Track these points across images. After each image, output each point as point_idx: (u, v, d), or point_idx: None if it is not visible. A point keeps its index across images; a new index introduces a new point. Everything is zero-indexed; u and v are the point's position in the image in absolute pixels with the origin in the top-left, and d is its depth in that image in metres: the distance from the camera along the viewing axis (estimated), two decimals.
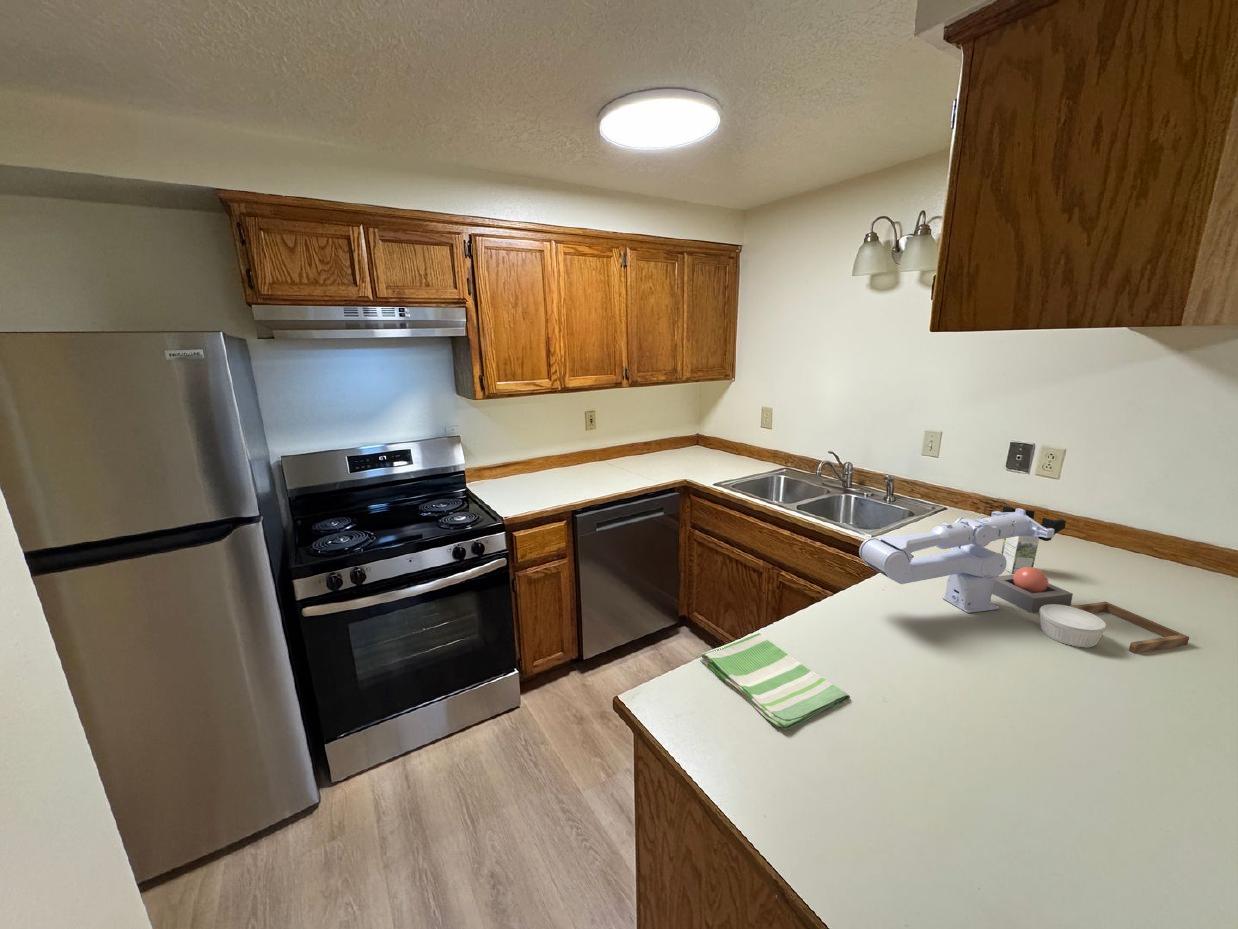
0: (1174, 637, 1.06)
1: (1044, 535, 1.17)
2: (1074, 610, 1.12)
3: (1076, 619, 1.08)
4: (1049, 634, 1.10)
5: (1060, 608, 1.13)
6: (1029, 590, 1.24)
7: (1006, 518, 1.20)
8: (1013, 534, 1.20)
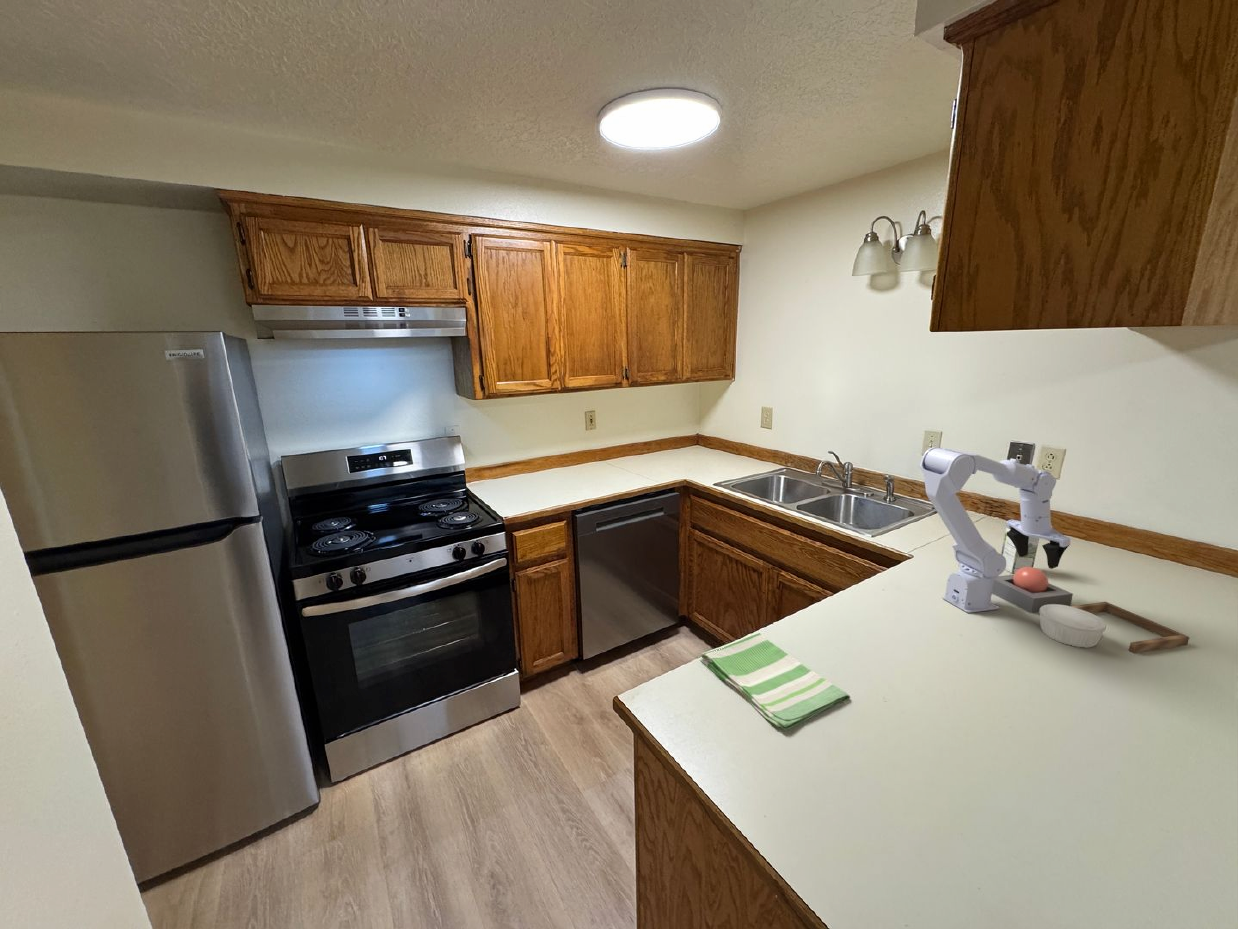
0: (1174, 637, 1.06)
1: None
2: (1074, 610, 1.12)
3: (1076, 619, 1.08)
4: (1049, 634, 1.10)
5: (1060, 608, 1.13)
6: (1029, 590, 1.24)
7: None
8: (1042, 519, 1.20)
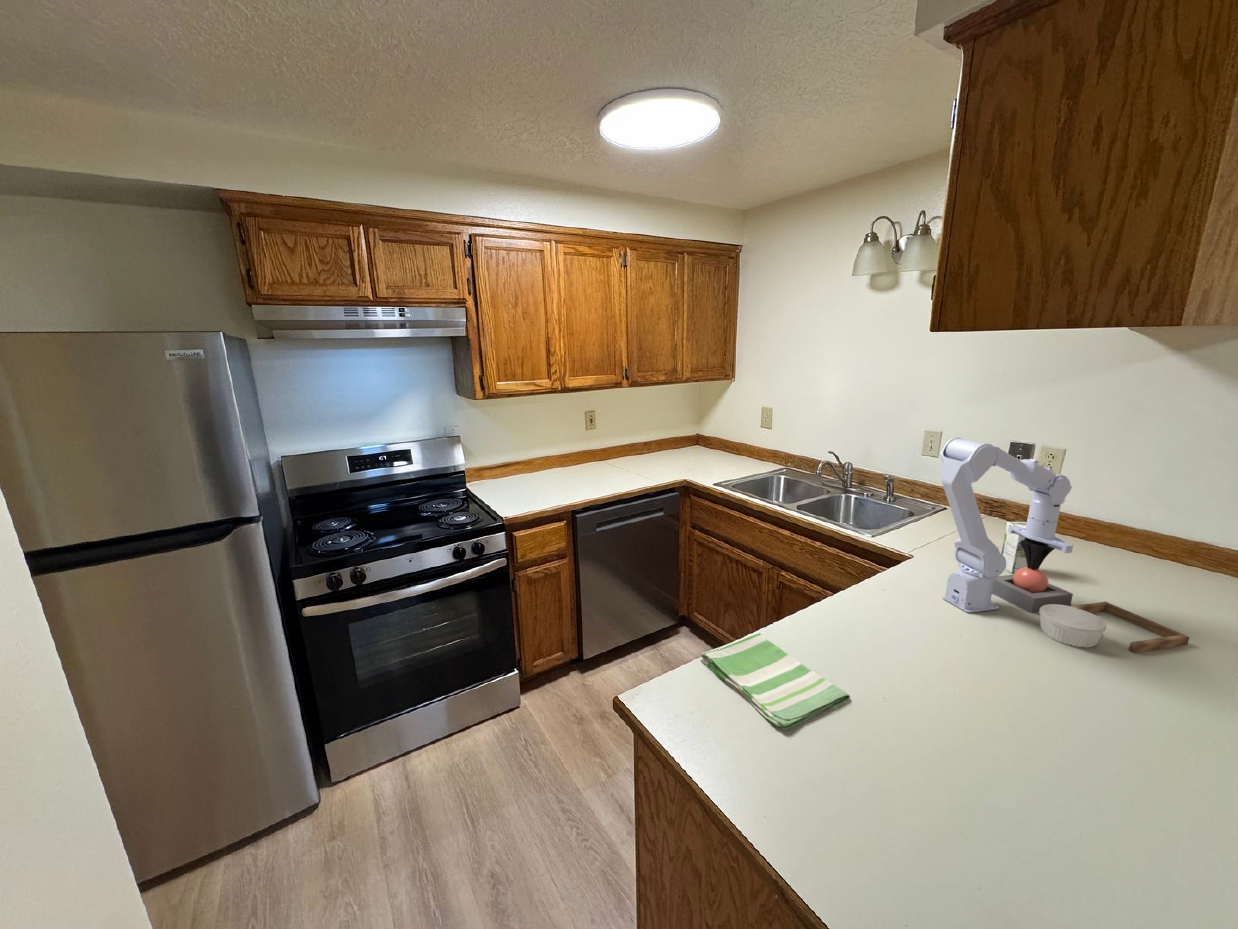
0: (1174, 637, 1.06)
1: None
2: (1074, 610, 1.12)
3: (1076, 619, 1.08)
4: (1049, 634, 1.10)
5: (1060, 608, 1.13)
6: (1029, 590, 1.24)
7: None
8: (1049, 523, 1.20)
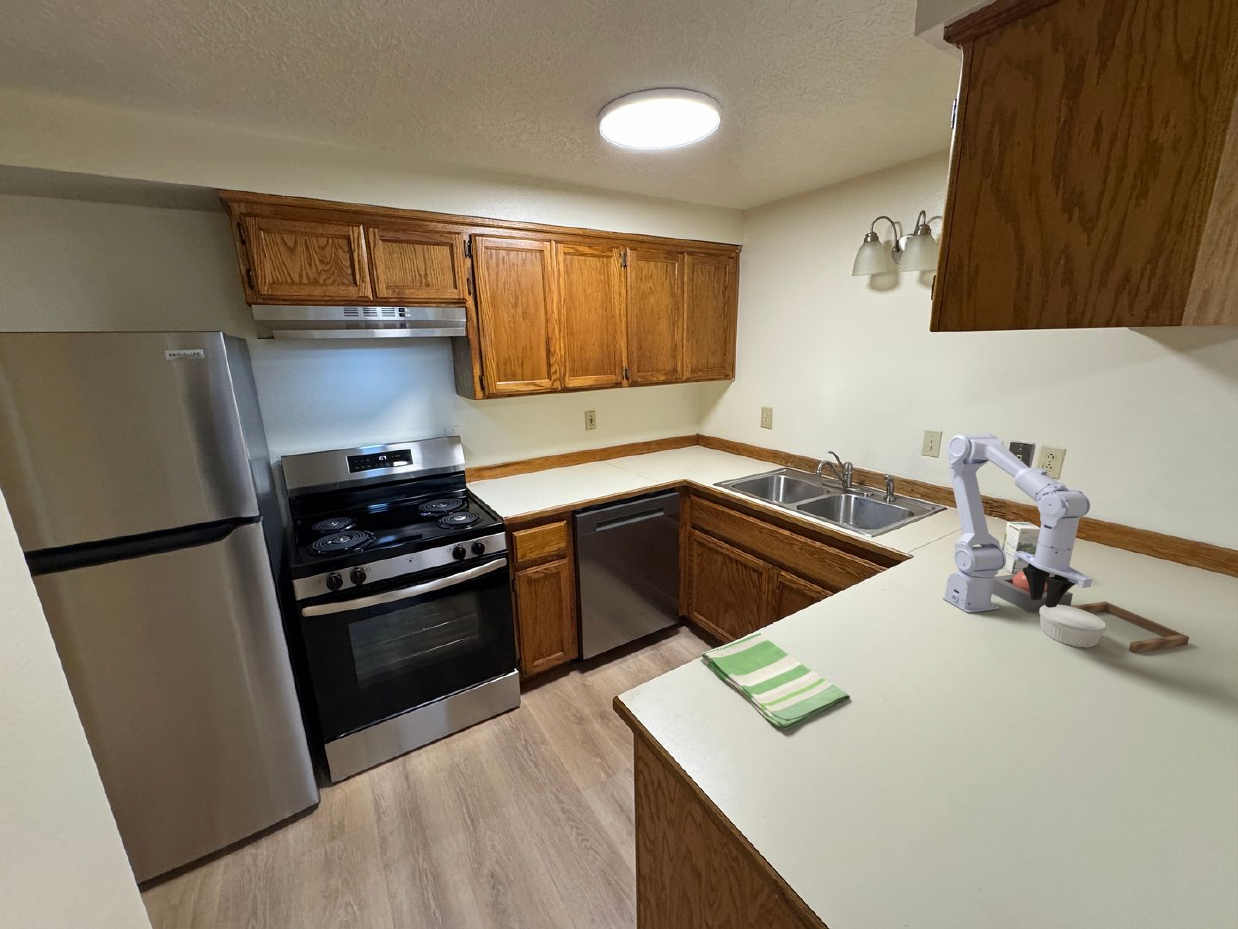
0: (1174, 637, 1.06)
1: None
2: (1074, 610, 1.12)
3: (1076, 619, 1.08)
4: (1049, 634, 1.10)
5: (1060, 608, 1.13)
6: None
7: (1064, 547, 1.01)
8: (1063, 551, 1.01)
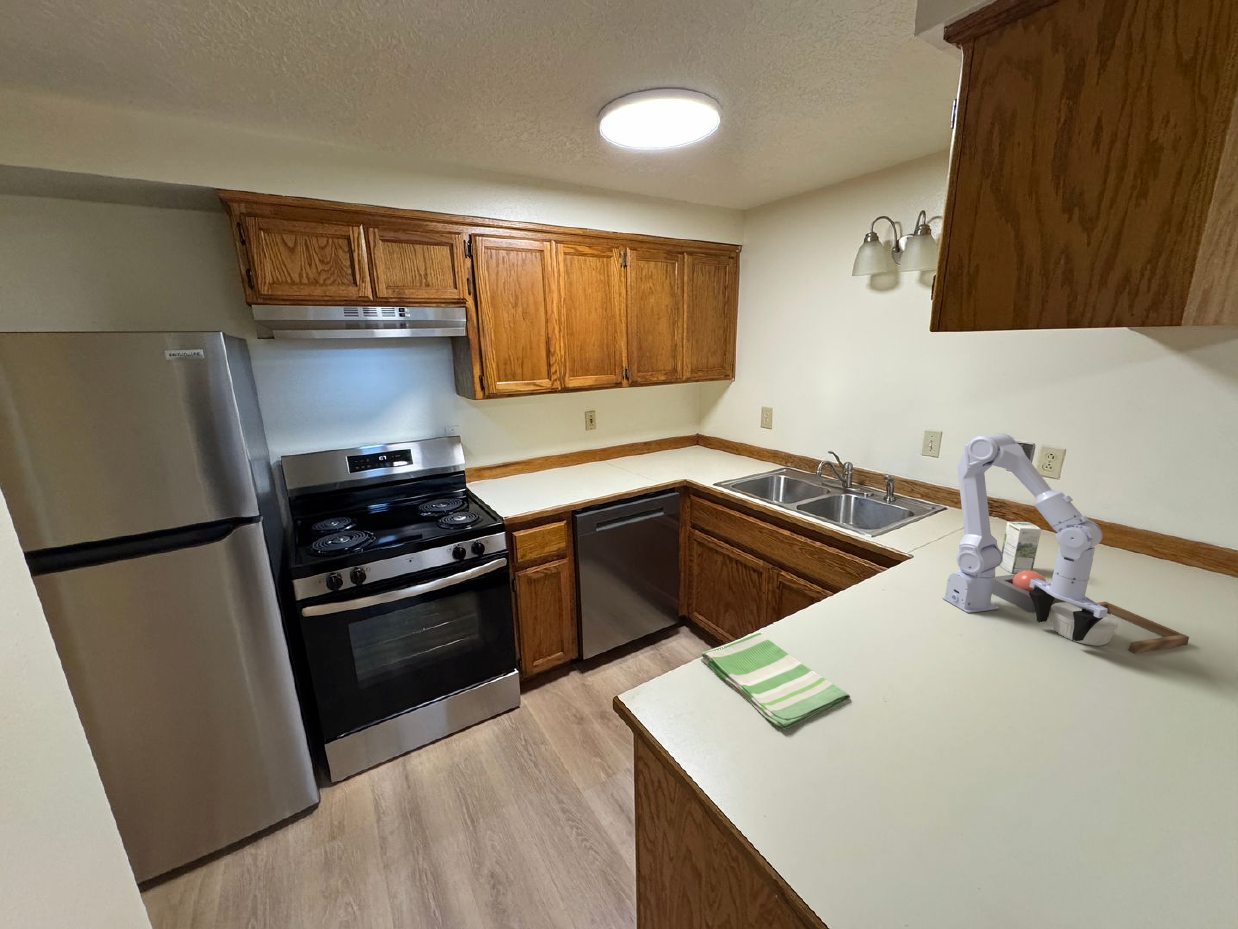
0: (1174, 637, 1.06)
1: None
2: None
3: None
4: (1061, 632, 1.11)
5: (1071, 606, 1.13)
6: None
7: (1084, 578, 1.04)
8: (1079, 581, 1.04)
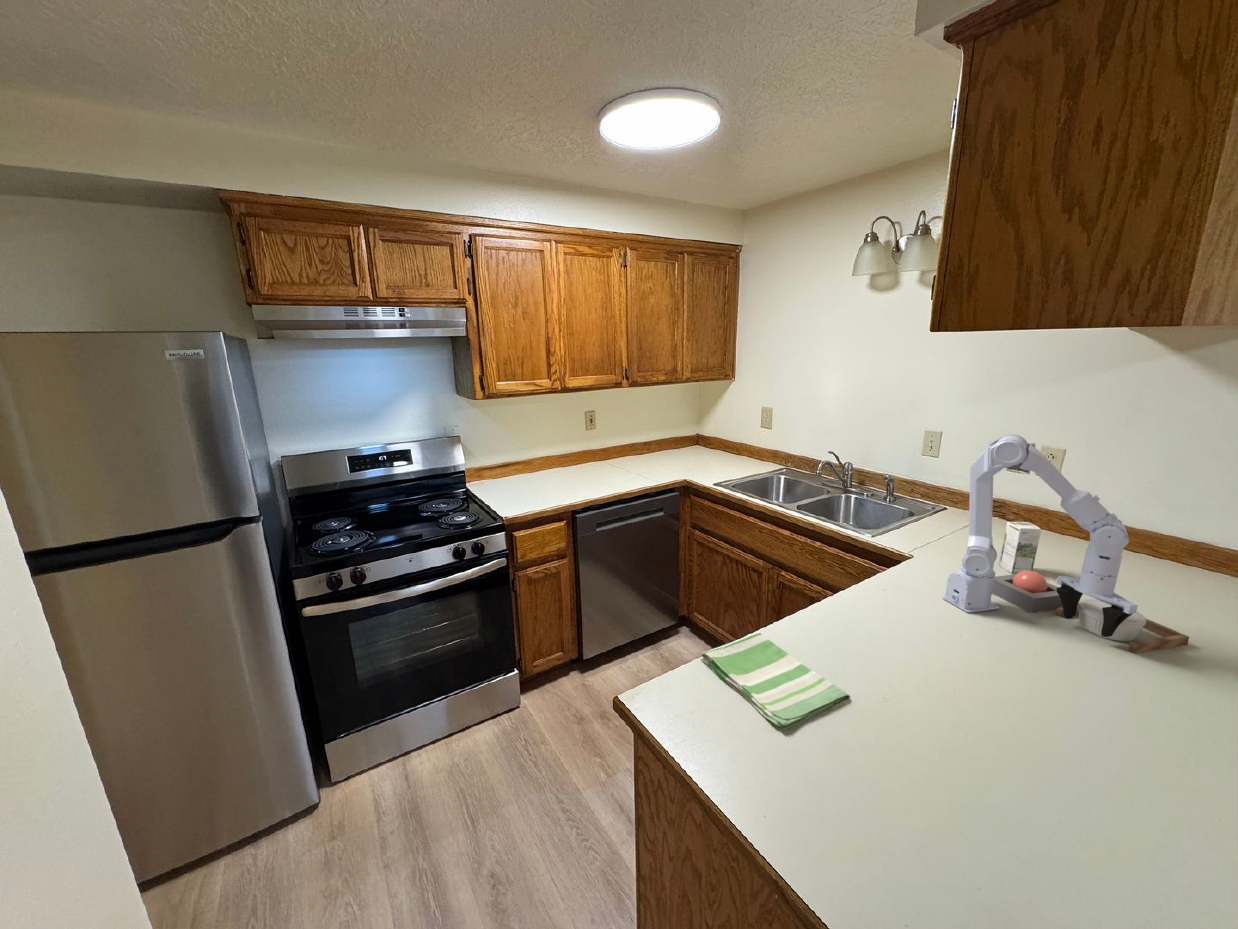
0: (1174, 637, 1.06)
1: None
2: None
3: None
4: (1089, 628, 1.12)
5: (1098, 603, 1.15)
6: None
7: (1117, 574, 1.06)
8: (1108, 578, 1.06)
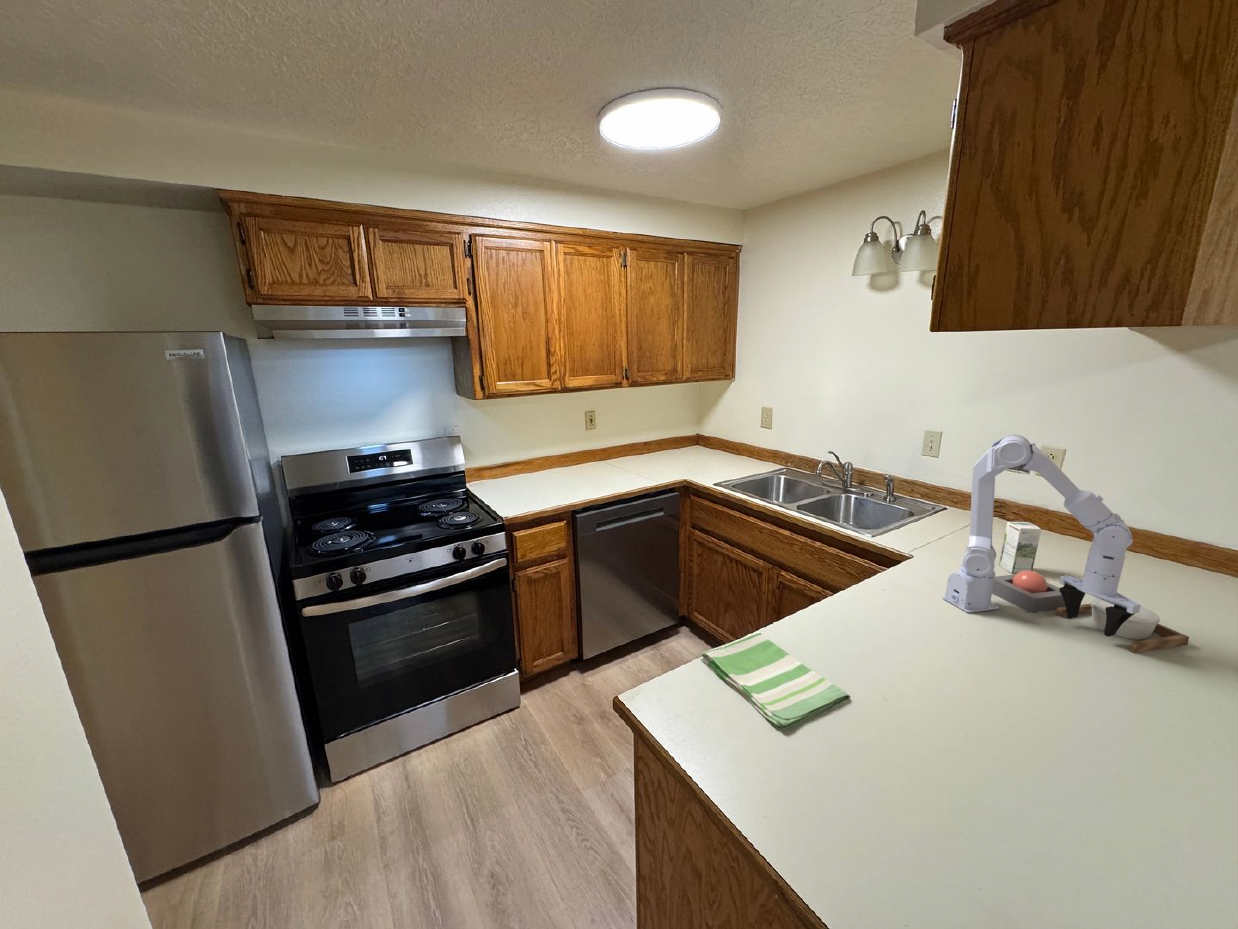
0: (1174, 637, 1.06)
1: None
2: None
3: None
4: (1102, 627, 1.13)
5: None
6: None
7: (1120, 574, 1.06)
8: (1111, 578, 1.06)
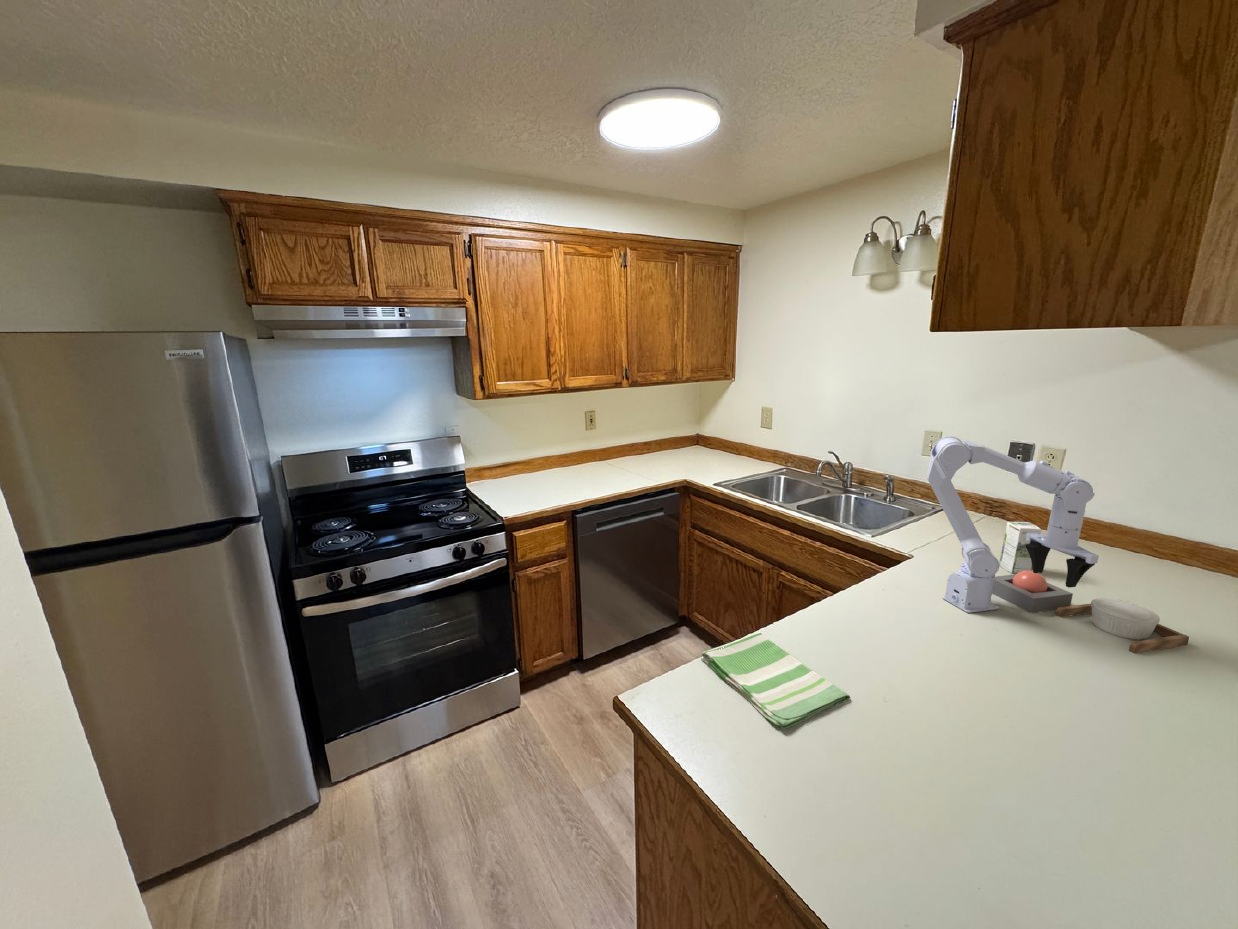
0: (1174, 637, 1.06)
1: None
2: (1125, 603, 1.15)
3: (1129, 612, 1.11)
4: (1102, 627, 1.13)
5: (1111, 601, 1.16)
6: None
7: (1081, 526, 1.12)
8: (1072, 531, 1.11)
